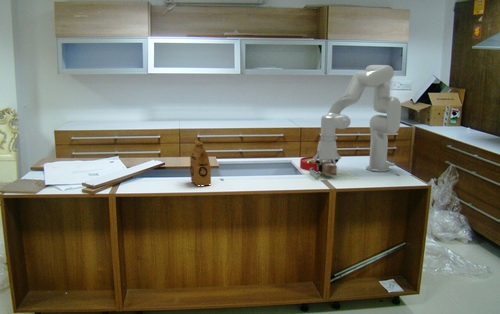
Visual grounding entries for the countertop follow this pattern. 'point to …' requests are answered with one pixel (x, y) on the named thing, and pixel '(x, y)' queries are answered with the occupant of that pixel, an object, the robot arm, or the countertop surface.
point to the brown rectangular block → (328, 168)
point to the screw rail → (314, 173)
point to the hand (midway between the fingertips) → (326, 171)
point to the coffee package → (200, 165)
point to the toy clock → (309, 163)
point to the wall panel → (333, 176)
